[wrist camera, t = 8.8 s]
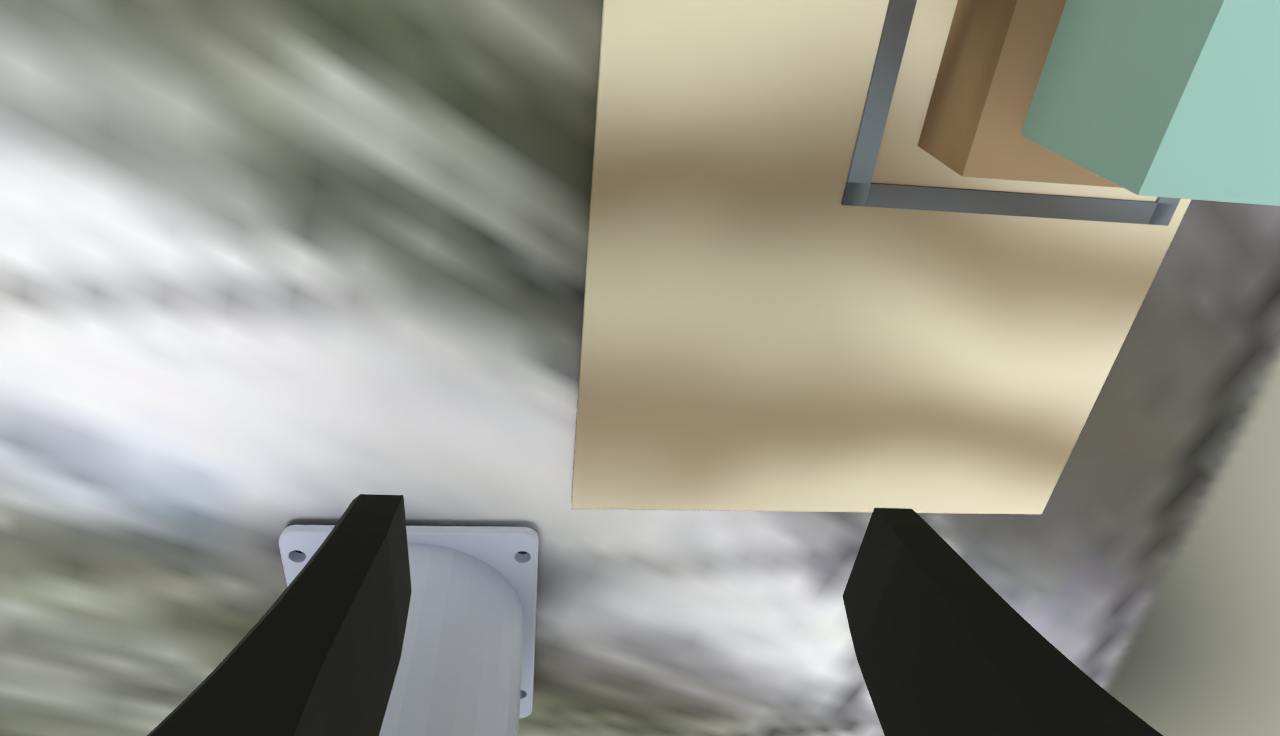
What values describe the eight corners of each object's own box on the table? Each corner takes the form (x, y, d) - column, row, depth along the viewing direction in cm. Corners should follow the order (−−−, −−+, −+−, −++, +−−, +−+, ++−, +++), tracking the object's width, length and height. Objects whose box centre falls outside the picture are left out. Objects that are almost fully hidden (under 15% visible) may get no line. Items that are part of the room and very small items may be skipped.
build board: (1033, 504, 27) (1043, 516, 26) (571, 498, 25) (571, 511, 24) (1365, -209, 17) (1391, -212, 16) (623, -317, 15) (625, -325, 14)
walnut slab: (1136, 161, 20) (1205, 193, 18) (917, 145, 19) (962, 176, 17) (1253, -110, 17) (1353, -111, 15) (997, -142, 16) (1063, -148, 14)
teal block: (1186, 148, 17) (1340, 209, 14) (1019, 135, 17) (1138, 195, 13) (1280, -56, 15) (1488, -42, 12) (1093, -78, 15) (1255, -71, 11)
